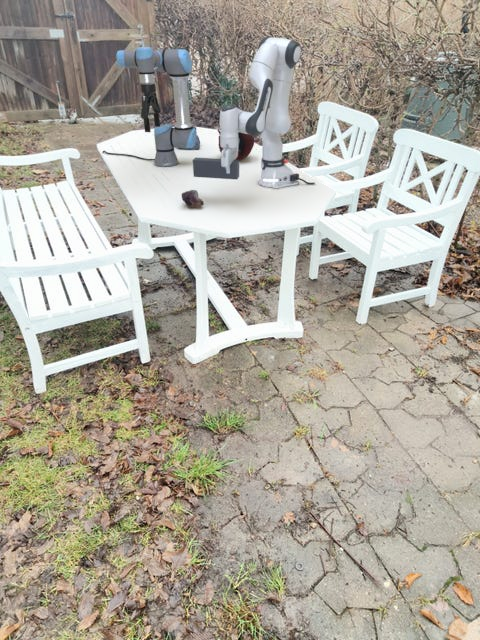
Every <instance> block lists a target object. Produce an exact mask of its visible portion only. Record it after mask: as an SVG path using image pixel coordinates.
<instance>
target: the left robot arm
mask: <svg viewBox="0 0 480 640" xmlns="http://www.w3.org/2000/svg"><path fill="white" fill-rule="evenodd" d="M115 58H116V63H117V66H119V68H125V69H126V68H129V69H131V68H132V69H133V68H136V69H137V68H138V77H139V83H140V86H139V87H140V93H142V94H144V95H142V96H141V111H140V118H141V119H143V126H144V132H145V133H151V132H152V131H151V123H150V118H149V116H150V109H152V110H153V122H154V127H155V128H154V129H153V133H154V134H153V136H154V145H155V155H154V158H145V157H140V156H138V155H133V154H128V153H116V152H107V151H106V150H103V151H102V153H105V154H107V155H114V156H125V157H127V156H128V157H133V158H137V159H140V160H144V161H154V165H155V166H157V167H163V168H164V167H165V168H167V167H168V168H169V167H174V166H177V165H178V164H179V159H178V157H177V153H176V151H175V149H176V148H177V149H181V148H193V147H194V145H195V143H196V138H197V135H198V132H197V128H196V129H195V128H193V125H194V123H193V122H192V121H191V113H190V100H189V88H188V78H189V77H190V73H192V71H193V62H192V61H193V60H192V57H191V54H190V52H189V51H188V50H187V49H183V48H162V49H161V48H160V49H152V47H151V46H138V47H136V49H135V50H134V49H133V50H130V49H127V50H125V49H122V50H117V52H116V55H115ZM155 72H159V73H168V75H169V78H170V79H171V80H172V91H173V101H174V111H175V121H176V122H175V123H174V126H173V125H172V124H163V125H161V120H160V114H161V112H162V111H161V107H160V103H159V99H158V95H157V85H156V78H157V77H156V76H155ZM190 121H191V122H192V123H193V124H192V123H191V122H190Z"/></svg>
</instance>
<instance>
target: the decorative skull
mask: <svg viewBox="0 0 480 640" xmlns="http://www.w3.org/2000/svg"><path fill="white" fill-rule="evenodd" d="M217 133H218V150H219V152H220V153H221V152H222V150H223V148H222V147H221V146H220V133H221V129H220V128H219V129H217ZM238 138H239V139H240V142H239V144H238V156H237V158H236V159H235V160H239V161H242V160H244V159H246V158H248V157H249V155H251V152H252V151H253V148H254V146H255V137H254V136H251V135H249V134H245V133H241V132H238Z"/></svg>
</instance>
